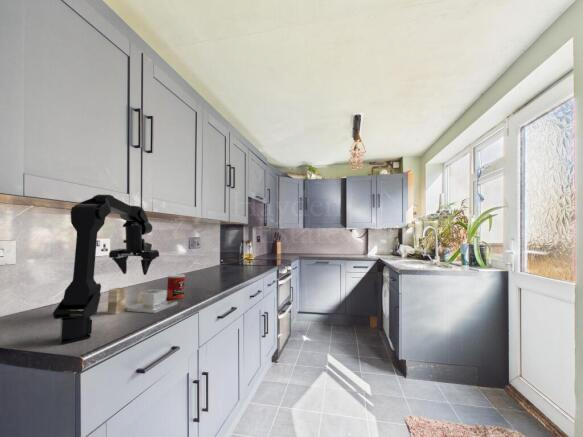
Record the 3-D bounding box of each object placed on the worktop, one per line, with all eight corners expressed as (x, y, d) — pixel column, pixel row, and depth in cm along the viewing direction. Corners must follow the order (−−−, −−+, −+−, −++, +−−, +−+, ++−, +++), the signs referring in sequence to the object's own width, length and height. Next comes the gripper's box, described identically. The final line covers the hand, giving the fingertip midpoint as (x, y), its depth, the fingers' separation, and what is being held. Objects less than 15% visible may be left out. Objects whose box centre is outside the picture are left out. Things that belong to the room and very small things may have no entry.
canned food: (173, 300, 120) (174, 276, 120) (163, 298, 124) (164, 275, 125) (187, 297, 126) (188, 274, 127) (177, 295, 130) (178, 273, 131)
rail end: (116, 313, 99) (117, 290, 100) (107, 313, 100) (108, 289, 101) (124, 311, 103) (125, 288, 104) (116, 310, 104) (117, 287, 104)
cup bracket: (154, 313, 100) (155, 296, 101) (124, 310, 103) (124, 294, 104) (177, 303, 114) (177, 289, 114) (150, 302, 117) (150, 287, 117)
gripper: (166, 235, 113) (167, 270, 114) (128, 234, 115) (129, 268, 116) (149, 238, 102) (150, 277, 103) (107, 237, 104) (108, 275, 105)
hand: (135, 274), depth 107 cm, fingers open, 9 cm apart
